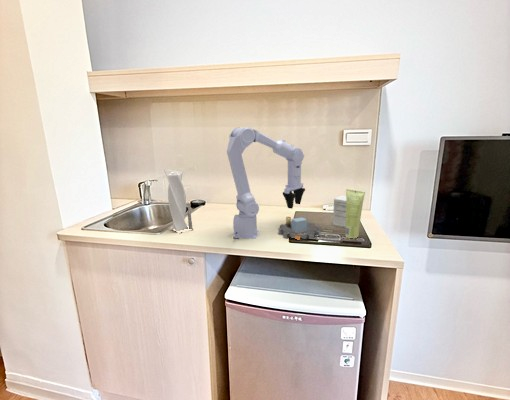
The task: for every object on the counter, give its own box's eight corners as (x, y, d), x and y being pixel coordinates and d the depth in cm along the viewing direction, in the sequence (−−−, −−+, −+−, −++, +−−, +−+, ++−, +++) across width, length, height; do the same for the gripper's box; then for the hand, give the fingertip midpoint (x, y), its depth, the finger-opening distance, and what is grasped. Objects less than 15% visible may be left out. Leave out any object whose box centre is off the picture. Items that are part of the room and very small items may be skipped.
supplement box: (339, 221, 131) (340, 195, 128) (354, 224, 126) (356, 197, 123) (332, 225, 125) (333, 198, 122) (348, 229, 121) (350, 201, 118)
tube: (357, 235, 114) (360, 188, 109) (361, 240, 109) (365, 191, 104) (343, 235, 114) (346, 189, 109) (347, 240, 109) (349, 191, 104)
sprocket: (305, 244, 105) (305, 231, 104) (269, 233, 117) (269, 221, 116) (328, 231, 118) (329, 219, 116) (294, 222, 130) (294, 211, 128)
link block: (295, 233, 111) (296, 221, 109) (291, 230, 114) (291, 219, 113) (306, 231, 112) (307, 219, 111) (302, 228, 116) (302, 217, 114)
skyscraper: (176, 234, 120) (169, 170, 113) (168, 230, 126) (160, 168, 119) (193, 229, 126) (187, 168, 119) (184, 225, 132) (179, 166, 124)
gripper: (293, 172, 129) (293, 201, 132) (277, 177, 117) (278, 208, 121) (307, 173, 125) (307, 202, 128) (293, 179, 113) (292, 211, 117)
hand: (294, 205), depth 124 cm, fingers open, 7 cm apart
